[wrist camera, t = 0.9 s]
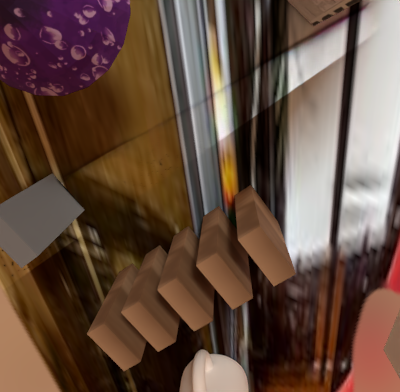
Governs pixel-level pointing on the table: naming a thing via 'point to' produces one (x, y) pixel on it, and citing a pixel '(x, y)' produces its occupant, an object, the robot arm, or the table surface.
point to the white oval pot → (213, 374)
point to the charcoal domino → (36, 219)
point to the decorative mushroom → (59, 42)
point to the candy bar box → (321, 8)
